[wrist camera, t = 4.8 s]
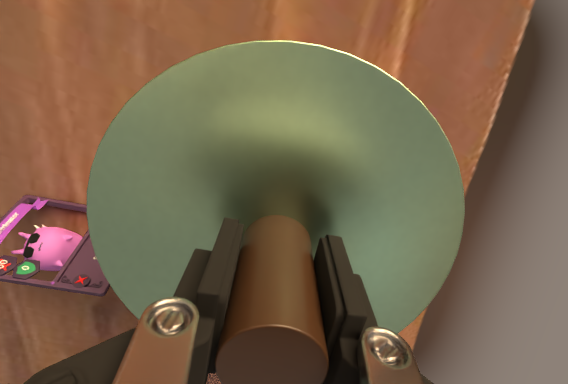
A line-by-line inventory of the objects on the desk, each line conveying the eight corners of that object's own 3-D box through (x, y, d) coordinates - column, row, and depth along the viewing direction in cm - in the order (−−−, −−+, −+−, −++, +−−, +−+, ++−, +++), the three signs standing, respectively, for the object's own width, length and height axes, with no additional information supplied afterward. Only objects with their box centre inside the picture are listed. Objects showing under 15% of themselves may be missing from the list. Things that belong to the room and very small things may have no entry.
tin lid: (92, -3, 10) (-187, -93, 4) (516, 89, 11) (784, 124, 5) (106, 332, 16) (-2, 499, 10) (385, 369, 17) (442, 540, 11)
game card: (100, 288, 19) (-59, 263, 18) (115, 325, 22) (-18, 305, 22) (144, 209, 24) (21, 187, 23) (151, 249, 27) (44, 231, 27)
